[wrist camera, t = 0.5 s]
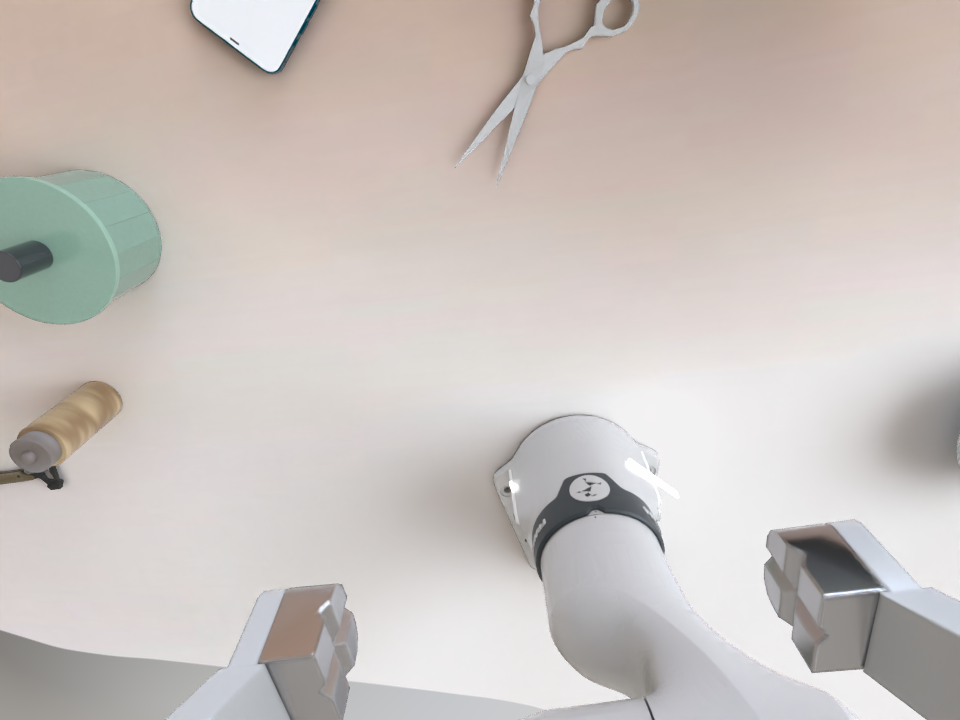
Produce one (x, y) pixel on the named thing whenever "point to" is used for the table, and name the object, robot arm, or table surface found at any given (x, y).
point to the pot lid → (53, 253)
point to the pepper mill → (65, 427)
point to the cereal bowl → (958, 450)
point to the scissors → (540, 76)
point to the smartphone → (257, 27)
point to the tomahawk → (32, 477)
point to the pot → (118, 222)
